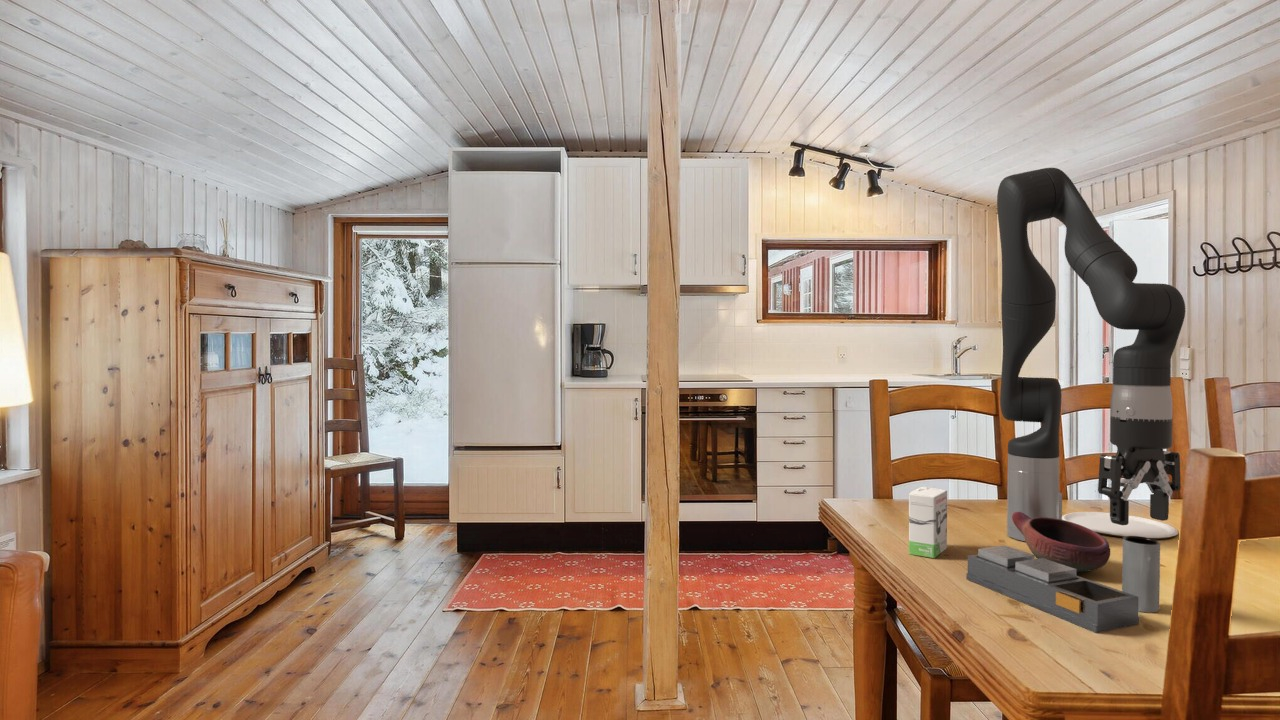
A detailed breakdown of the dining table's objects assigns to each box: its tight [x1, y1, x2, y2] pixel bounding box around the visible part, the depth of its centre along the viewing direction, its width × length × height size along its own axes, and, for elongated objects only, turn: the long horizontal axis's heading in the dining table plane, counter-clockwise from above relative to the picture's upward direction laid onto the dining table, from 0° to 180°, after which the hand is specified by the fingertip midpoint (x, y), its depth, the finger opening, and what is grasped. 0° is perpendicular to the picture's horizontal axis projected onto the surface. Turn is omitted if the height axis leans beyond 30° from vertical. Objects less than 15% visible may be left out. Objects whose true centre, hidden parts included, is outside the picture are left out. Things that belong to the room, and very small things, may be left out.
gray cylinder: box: [1121, 536, 1161, 613], centre depth 101 cm, size 4×4×10 cm
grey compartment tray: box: [965, 544, 1140, 634], centre depth 104 cm, size 23×9×5 cm, turn 19°
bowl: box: [1012, 512, 1111, 573], centre depth 120 cm, size 16×13×8 cm
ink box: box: [908, 486, 948, 559], centre depth 129 cm, size 9×5×12 cm, turn 140°
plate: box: [1062, 511, 1179, 540], centre depth 146 cm, size 21×21×1 cm
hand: (1139, 521), depth 101 cm, fingers open, 8 cm apart
